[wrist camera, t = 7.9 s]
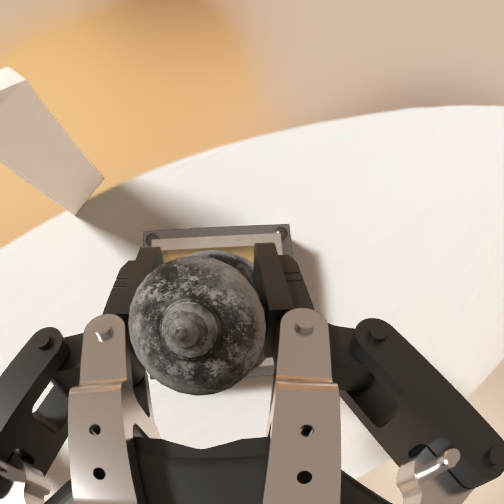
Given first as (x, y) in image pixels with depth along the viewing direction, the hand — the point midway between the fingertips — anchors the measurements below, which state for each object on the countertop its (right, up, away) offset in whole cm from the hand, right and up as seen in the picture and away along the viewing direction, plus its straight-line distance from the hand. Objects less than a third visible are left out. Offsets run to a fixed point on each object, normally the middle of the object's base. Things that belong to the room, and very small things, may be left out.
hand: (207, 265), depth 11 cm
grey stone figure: (0, -3, +5) cm, 6 cm away
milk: (-21, +9, +19) cm, 30 cm away
